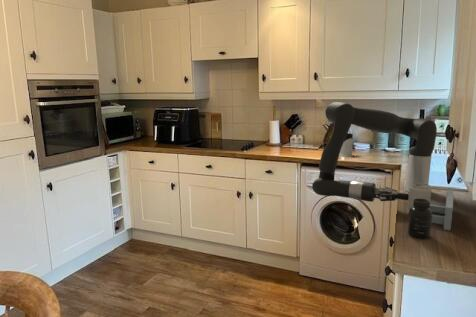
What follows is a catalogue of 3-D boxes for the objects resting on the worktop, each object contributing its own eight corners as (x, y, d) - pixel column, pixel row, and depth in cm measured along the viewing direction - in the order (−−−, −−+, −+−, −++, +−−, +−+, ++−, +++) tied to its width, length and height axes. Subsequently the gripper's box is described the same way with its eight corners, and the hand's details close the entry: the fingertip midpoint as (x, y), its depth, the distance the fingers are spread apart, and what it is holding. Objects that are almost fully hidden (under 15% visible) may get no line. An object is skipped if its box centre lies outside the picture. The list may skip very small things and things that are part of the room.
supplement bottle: (405, 230, 126) (408, 196, 124) (427, 232, 124) (431, 198, 122) (408, 238, 120) (412, 202, 117) (432, 240, 118) (435, 204, 115)
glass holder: (345, 157, 249) (346, 135, 246) (331, 153, 262) (332, 132, 259) (355, 156, 253) (356, 134, 250) (341, 152, 265) (342, 132, 262)
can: (423, 211, 144) (426, 181, 142) (432, 218, 137) (435, 187, 135) (403, 211, 145) (406, 181, 142) (411, 217, 137) (414, 186, 135)
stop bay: (424, 205, 151) (426, 187, 149) (450, 209, 146) (453, 190, 144) (419, 225, 130) (421, 203, 129) (450, 230, 126) (452, 208, 124)
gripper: (358, 186, 144) (407, 192, 135) (366, 178, 155) (411, 183, 146) (357, 204, 145) (405, 211, 137) (365, 195, 157) (409, 201, 148)
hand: (408, 197), depth 142 cm, fingers closed
